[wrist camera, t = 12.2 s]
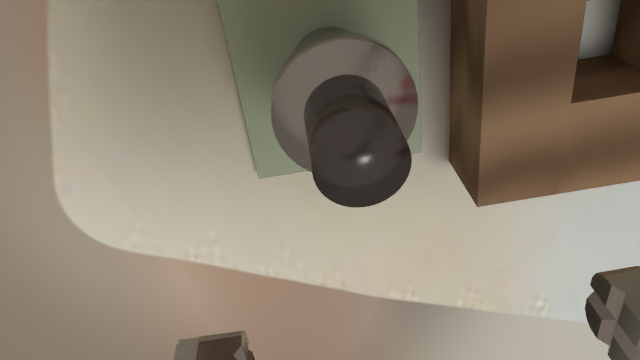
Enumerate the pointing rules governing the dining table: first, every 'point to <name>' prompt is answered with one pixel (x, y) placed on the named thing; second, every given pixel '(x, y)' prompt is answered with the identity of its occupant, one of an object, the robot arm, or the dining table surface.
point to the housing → (541, 100)
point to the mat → (281, 41)
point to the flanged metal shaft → (346, 115)
